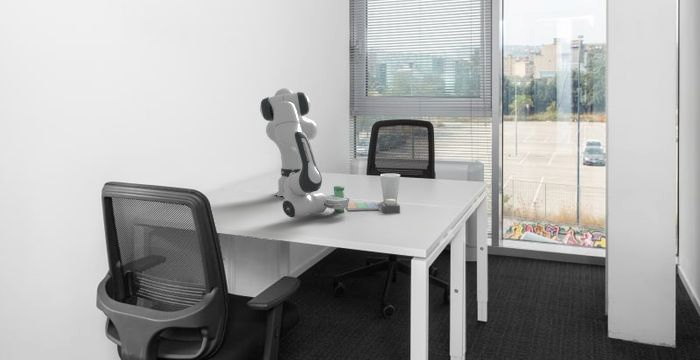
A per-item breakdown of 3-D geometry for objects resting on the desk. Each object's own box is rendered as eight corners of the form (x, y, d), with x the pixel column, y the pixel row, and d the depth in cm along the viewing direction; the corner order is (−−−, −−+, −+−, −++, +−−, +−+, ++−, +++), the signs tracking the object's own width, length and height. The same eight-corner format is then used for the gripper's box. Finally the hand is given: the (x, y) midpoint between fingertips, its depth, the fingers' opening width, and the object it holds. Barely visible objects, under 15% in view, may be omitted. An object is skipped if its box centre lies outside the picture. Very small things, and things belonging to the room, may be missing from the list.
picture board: (345, 204, 253) (345, 203, 253) (374, 203, 255) (374, 202, 255) (348, 211, 239) (348, 209, 239) (379, 210, 240) (379, 208, 240)
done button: (384, 206, 240) (384, 199, 240) (394, 206, 241) (394, 198, 240) (386, 208, 236) (386, 201, 235) (396, 208, 236) (396, 200, 236)
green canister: (333, 211, 240) (333, 186, 238) (344, 210, 240) (343, 185, 239) (334, 213, 235) (334, 187, 234) (345, 212, 236) (344, 187, 234)
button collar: (381, 209, 242) (381, 203, 241) (396, 209, 242) (396, 202, 242) (383, 213, 235) (383, 206, 234) (399, 212, 235) (399, 205, 235)
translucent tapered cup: (382, 204, 254) (383, 176, 252) (378, 200, 263) (378, 173, 261) (402, 203, 256) (402, 176, 253) (396, 199, 264) (397, 173, 262)
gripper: (334, 198, 220) (357, 194, 230) (301, 192, 234) (324, 188, 244) (334, 214, 221) (357, 208, 231) (301, 207, 235) (324, 202, 245)
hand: (340, 198), depth 237 cm, fingers open, 8 cm apart
